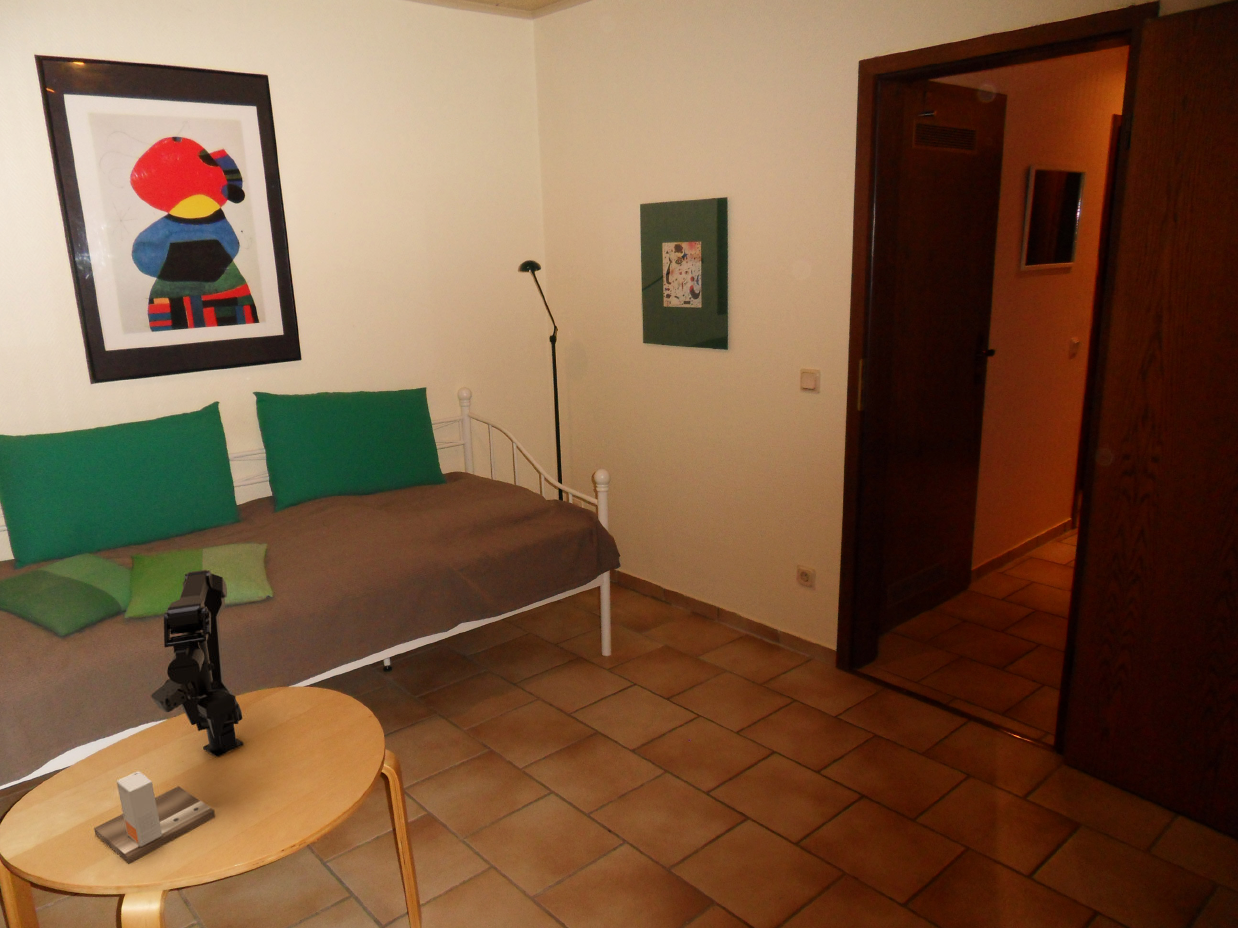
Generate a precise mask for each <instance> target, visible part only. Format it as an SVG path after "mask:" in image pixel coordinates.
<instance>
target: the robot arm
mask: <svg viewBox="0 0 1238 928" xmlns="http://www.w3.org/2000/svg"><path fill="white" fill-rule="evenodd" d="M226 598H228V588H227V583H226V581H225V578H223V576H221V575H217V574H215V573H212V571H211V570H207V569H203V570H202V569H201V570H195V571H188V573H185V574H184V580H183V582H182V591H181V593H180V596H179V598H178V599H176V600H175V601H172V602H171V603H170V604H169V606H168V607H167V610H166V611H165V612H164V613H163V643H164V644H163V645H164V648H171V647H173V653H172V656H171V659H170V661H169V664H168V666H167V670H166V671H167V672H166V673H167V676H168V678H169V679H166V681H165V682H164V684H163V685H161V686H160V687H159V688H158V689H156V690H155V691H154V692H153V693H152V694H151V696H150V697H151V699H152V701H153V702H154V703H155V704H156V705H157V707H158V708H159V709H160V710H162V711H164V712H165V713H171V712H172V711H174V710H175V709H177V708H179V707H181V708H182V710H183V712H184V714H185V716H186V718H187V719H188V721H189V723H190V724H191V725H192V726H195V725H196V728H197V731H198V732H200V731H203V730H206V734H207V735H206V736H207V742H208V744H205V745H204V746H202V748H203V749H202V750H204V751H205V752H208V753H209V754H211V755H212V756H213V757H216V758H218V757H221V756H224V755H225V754H227V753H229V752H233V750H236V749H238V748H240V747H242V746H243V745H244V742H243V741H242V740H241V739H239V738H237V736H236V730H235V725H238V724H239V722H241V721H242V720H243V713H242V708H241V707H240V704H239V702H238V701H237V699H236V698H237V697H236V695H234V694H233V691H232V689H231V688H230V687H229V685H228V684H227V683H226V682H225V677H224V666H223V654H222V643H221V642H222V640H221V639H222V638H221V629H220V616H221V614H222V612H223V611H224V609H225V607H226ZM171 635H174V636H171ZM175 635H176V636H175Z"/></svg>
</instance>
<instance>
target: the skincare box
mask: <svg viewBox="0 0 1238 928" xmlns="http://www.w3.org/2000/svg"><path fill="white" fill-rule="evenodd" d="M116 785H117V789H118V795H119V796H118V797H119V801H120V807H121V811H122V814H123V816H124V821H125V826H126V831H127V835H128V836H130V837H131V838H132V839H133V840H134V841H135V842H136V843H137V844H138V845H139V846H140V847H142V846H144V845H145V844H147V843H149V842H151V841H153V840H155V839H157V838H159V837H161V836H162V831H161V826H160V821H159V816H158V811H157V806H156V800H155V797H156V796H155V790H154V787H153V781H152V780H151V779H149V778H148V777H147V776H146V775H145V774H144V773H142V772H141V771H140V770H137V771H136V772H133V773H131V774H129V775H126V776H124V777H122V778H120V779H117V780H116Z"/></svg>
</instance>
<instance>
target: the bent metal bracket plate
mask: <svg viewBox="0 0 1238 928" xmlns="http://www.w3.org/2000/svg"><path fill="white" fill-rule="evenodd" d="M155 800H156V806H157V811H158V816H159V821H160V826H161V831H162V836H161V837H159V838H157V839H155V840H153V841H151V842H149V843H147V844H145V845H144V846H142V847H140V846H139V845H138V844H137V843H136V842H135V841H134V840H133V839H132V838H131V837H130V836H128V835H127V831H126V826H125V821H124V816H123V813H121V814H120V815H118V816H116V817H114V818H112V819H109V820H108V821H105V822H103V823H102V824H99V825H97V826H96V827H94V828H93V829H94V834H95V836H96V837H97V838H99V840H100V841H102V842H103V843H104V844H105V845H107V846H108V847H109V848H110V849H111V850H113V851H114V852H115V853H116V854H117V855H119V857H121V858H122V859H123V860H124V861H125V862H126V863H127V864H131V863H132V862H135V861H137V860H139V859H141V858H142V857H144V856H146V855H148V854H149V853H151V852H153V851H155V850H156V849H159V848H160V847H162V846H164V845H167V844H168V843H170V842H172V841H173V840H175V839H177V838H179V837H181V836H182V835H185V834H187V833H188V832H190V831H192V830H194V829H196V828H198V827H199V826H202V825H203V824H205V823H207V822H208V821H210V820H213V819H214V818H215V817H216V814H215V809H213V808H212V807H210V806H209V805H207V804H206V803H205V802H203V801H202V800H200V799H199V798H197V797H195V796H194V795H193V794H191V793H190V792H188V791H187V790H185V789H184V788H182V787H181V786H179V785H178V786H176V787H173V788H171V789H170V790H168V791H166V792H163V793H162V794H159V795H157V796H155Z"/></svg>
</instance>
